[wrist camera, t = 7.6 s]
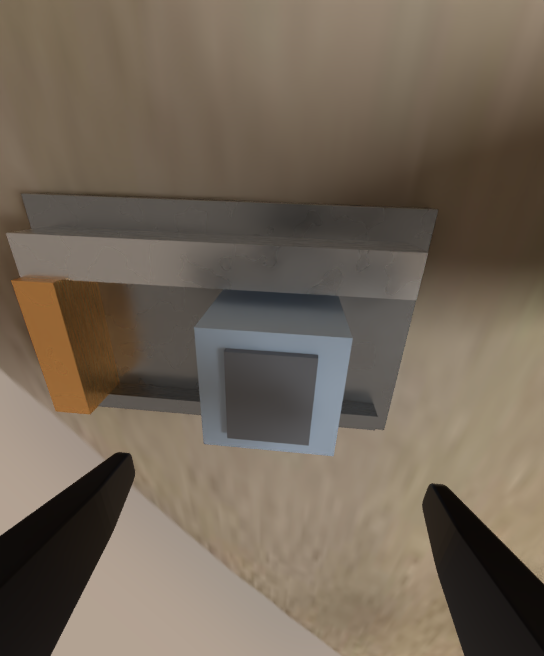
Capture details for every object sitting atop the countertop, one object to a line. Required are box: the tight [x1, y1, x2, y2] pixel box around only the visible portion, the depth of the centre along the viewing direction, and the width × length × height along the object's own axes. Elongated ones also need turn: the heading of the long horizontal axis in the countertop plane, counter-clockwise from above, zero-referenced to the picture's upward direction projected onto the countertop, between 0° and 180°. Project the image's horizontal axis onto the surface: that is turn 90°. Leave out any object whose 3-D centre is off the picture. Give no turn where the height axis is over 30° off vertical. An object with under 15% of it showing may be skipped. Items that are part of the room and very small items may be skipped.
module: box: [194, 289, 353, 456], centre depth 15 cm, size 6×6×5 cm
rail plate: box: [6, 193, 438, 430], centre depth 16 cm, size 20×13×4 cm, turn 88°
